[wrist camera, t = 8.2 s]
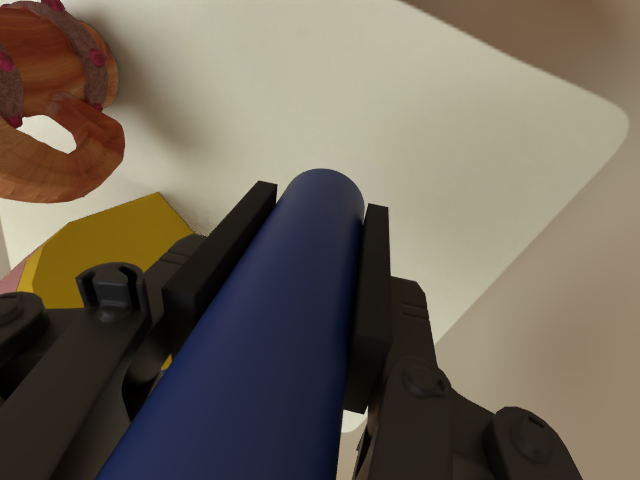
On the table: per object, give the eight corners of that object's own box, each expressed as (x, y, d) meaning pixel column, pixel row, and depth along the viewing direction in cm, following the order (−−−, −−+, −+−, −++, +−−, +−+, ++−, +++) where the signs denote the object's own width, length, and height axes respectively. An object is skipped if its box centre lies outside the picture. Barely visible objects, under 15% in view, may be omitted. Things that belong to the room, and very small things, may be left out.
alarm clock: (102, 211, 38) (-93, 329, 22) (145, 178, 34) (-49, 289, 19) (190, 301, 43) (82, 446, 28) (235, 279, 40) (140, 430, 24)
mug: (20, 42, 29) (-257, 42, 17) (61, -30, 26) (-248, -100, 13) (145, 173, 34) (5, 250, 21) (194, 127, 31) (62, 186, 18)
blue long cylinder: (373, 177, 13) (343, 611, 3) (355, 249, 15) (301, 663, 5) (287, 159, 13) (0, 514, 3) (280, 233, 15) (84, 599, 5)
